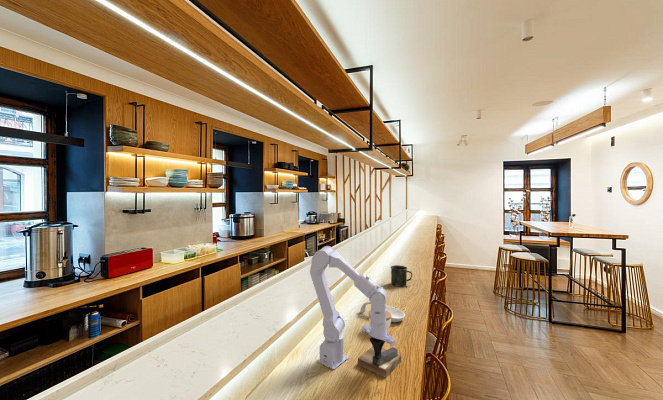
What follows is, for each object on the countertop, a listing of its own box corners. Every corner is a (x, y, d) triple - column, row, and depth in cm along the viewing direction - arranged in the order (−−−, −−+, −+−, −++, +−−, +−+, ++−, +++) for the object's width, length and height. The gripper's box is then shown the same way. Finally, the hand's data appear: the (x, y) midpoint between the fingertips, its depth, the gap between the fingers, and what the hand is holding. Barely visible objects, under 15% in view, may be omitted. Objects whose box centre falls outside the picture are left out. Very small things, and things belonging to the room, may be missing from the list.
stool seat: (386, 377, 102) (386, 370, 102) (357, 364, 110) (357, 358, 110) (401, 361, 112) (401, 355, 112) (374, 350, 119) (374, 344, 119)
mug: (391, 281, 207) (391, 264, 207) (412, 283, 203) (412, 266, 202) (389, 286, 197) (389, 268, 196) (411, 288, 192) (412, 270, 192)
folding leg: (393, 352, 113) (393, 346, 113) (398, 355, 111) (398, 349, 111) (372, 363, 106) (372, 356, 106) (377, 366, 104) (377, 359, 104)
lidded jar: (373, 337, 130) (373, 316, 130) (364, 326, 141) (364, 307, 140) (395, 333, 133) (395, 313, 133) (385, 323, 143) (385, 304, 143)
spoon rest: (408, 318, 149) (408, 304, 149) (400, 327, 139) (400, 313, 139) (366, 308, 162) (366, 295, 161) (356, 316, 152) (356, 302, 152)
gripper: (400, 324, 105) (400, 361, 105) (371, 311, 116) (370, 344, 116) (388, 331, 100) (388, 369, 101) (358, 316, 111) (358, 351, 112)
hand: (378, 356), depth 108 cm, fingers closed, pressing on folding leg
